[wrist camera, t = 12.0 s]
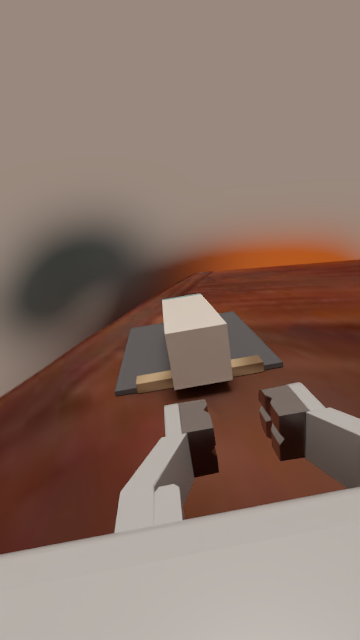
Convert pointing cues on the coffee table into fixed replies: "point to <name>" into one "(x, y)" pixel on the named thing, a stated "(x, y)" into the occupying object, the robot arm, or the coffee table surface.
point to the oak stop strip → (165, 379)
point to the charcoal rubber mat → (152, 356)
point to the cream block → (196, 342)
